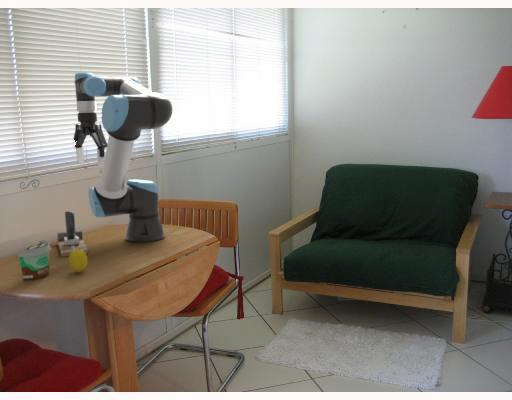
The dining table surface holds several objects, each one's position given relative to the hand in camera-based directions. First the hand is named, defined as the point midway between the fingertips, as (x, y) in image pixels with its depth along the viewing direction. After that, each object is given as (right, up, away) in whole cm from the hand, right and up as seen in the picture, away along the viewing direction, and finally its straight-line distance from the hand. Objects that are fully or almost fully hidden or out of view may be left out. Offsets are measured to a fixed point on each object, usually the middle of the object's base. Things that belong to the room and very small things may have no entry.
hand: (91, 164), depth 223 cm
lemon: (+11, -38, -50) cm, 64 cm away
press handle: (-1, -31, -20) cm, 37 cm away
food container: (0, -39, -53) cm, 65 cm away
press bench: (-1, -33, -20) cm, 39 cm away
